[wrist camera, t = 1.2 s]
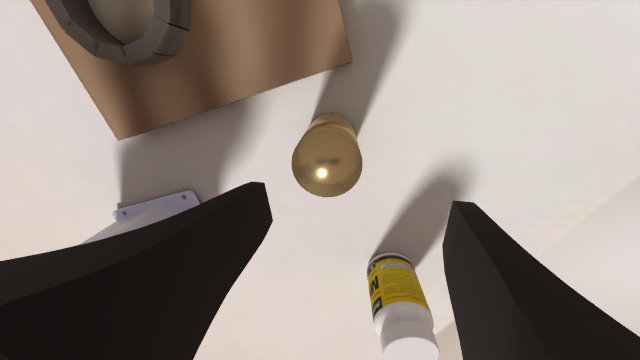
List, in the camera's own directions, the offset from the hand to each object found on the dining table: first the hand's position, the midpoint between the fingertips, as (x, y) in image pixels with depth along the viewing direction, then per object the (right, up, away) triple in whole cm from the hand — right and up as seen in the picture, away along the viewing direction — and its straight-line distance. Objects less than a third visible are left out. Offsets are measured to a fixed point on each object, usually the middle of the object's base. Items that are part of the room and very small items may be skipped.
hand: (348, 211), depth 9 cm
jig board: (-10, +14, +8) cm, 19 cm away
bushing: (0, +5, +10) cm, 12 cm away
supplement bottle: (+6, -8, +16) cm, 19 cm away
